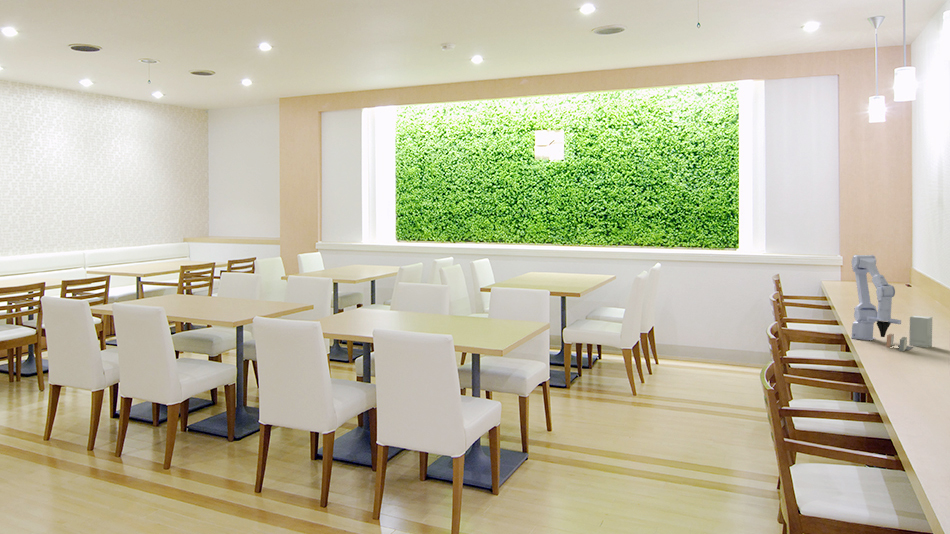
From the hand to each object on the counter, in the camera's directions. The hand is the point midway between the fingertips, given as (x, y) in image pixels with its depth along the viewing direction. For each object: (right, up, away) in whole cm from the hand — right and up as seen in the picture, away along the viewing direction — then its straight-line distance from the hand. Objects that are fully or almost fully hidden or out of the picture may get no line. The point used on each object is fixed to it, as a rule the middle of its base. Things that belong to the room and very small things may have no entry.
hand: (882, 336), depth 333 cm
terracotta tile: (+2, -5, -2) cm, 6 cm away
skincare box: (+18, -5, 0) cm, 19 cm away
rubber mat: (+6, -5, -5) cm, 9 cm away
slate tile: (+3, -5, -12) cm, 13 cm away
